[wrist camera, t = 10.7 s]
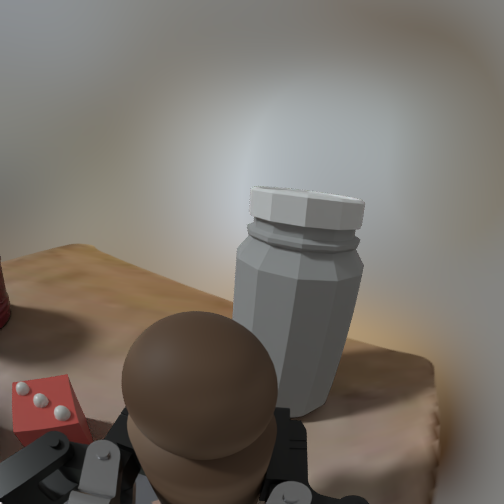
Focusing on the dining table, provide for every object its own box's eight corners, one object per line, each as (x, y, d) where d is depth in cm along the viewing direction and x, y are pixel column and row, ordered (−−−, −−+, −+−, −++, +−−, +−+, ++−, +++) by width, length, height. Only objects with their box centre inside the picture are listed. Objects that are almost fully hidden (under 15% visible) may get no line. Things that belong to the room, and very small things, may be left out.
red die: (36, 425, 13) (9, 376, 12) (85, 416, 16) (65, 368, 15) (45, 471, 10) (9, 426, 8) (101, 462, 13) (75, 416, 11)
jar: (328, 432, 18) (393, 208, 14) (213, 413, 20) (220, 186, 15) (327, 365, 28) (362, 197, 23) (241, 352, 29) (254, 184, 25)
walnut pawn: (157, 502, 10) (86, 298, 6) (220, 477, 12) (225, 275, 9) (199, 556, 6) (136, 426, 3) (266, 523, 9) (339, 337, 6)
